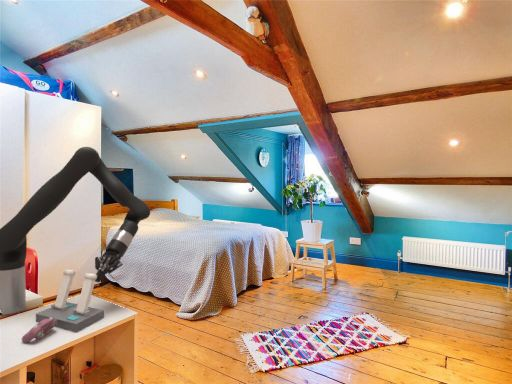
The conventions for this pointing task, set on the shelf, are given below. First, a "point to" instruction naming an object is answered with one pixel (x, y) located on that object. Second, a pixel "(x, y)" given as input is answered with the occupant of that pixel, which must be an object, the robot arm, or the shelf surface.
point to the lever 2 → (86, 293)
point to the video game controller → (40, 329)
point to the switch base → (71, 316)
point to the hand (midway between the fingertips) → (96, 281)
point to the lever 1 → (64, 288)
